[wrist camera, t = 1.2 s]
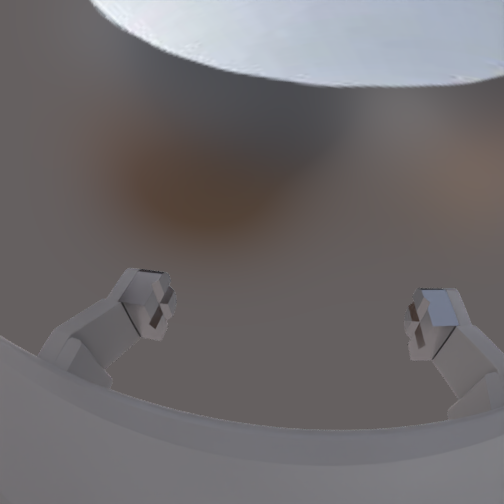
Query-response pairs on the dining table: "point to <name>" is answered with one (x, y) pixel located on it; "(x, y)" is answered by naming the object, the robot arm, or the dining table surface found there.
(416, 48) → the dining table surface
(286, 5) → the dining table surface
